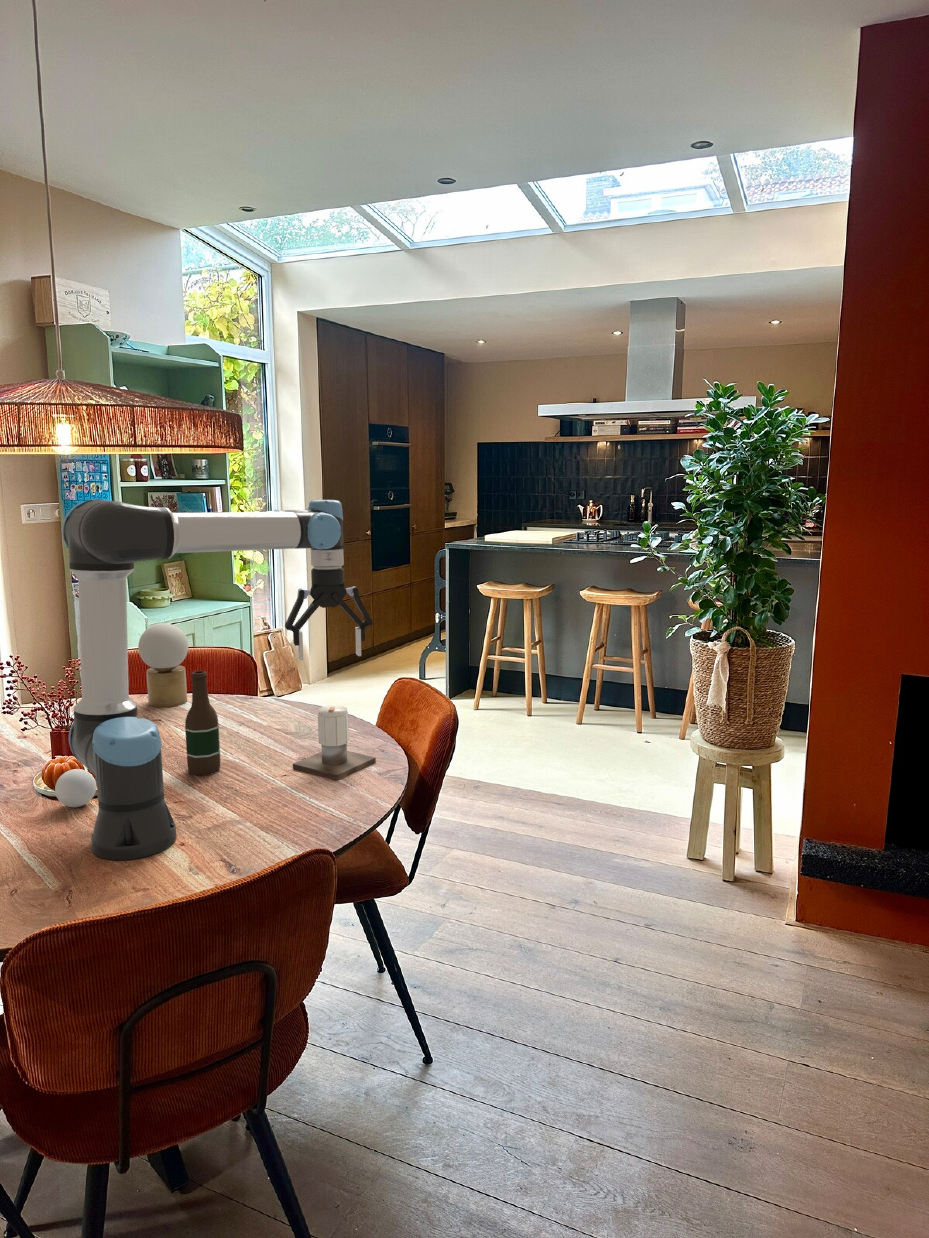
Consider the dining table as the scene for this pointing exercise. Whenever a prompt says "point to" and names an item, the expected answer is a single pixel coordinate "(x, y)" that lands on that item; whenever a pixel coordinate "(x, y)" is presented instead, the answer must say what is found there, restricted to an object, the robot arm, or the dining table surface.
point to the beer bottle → (202, 730)
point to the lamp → (164, 664)
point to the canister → (333, 725)
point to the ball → (75, 788)
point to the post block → (334, 762)
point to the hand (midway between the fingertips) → (330, 657)
